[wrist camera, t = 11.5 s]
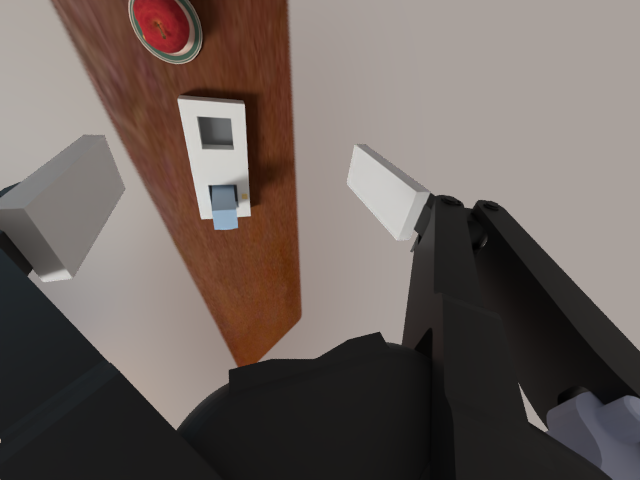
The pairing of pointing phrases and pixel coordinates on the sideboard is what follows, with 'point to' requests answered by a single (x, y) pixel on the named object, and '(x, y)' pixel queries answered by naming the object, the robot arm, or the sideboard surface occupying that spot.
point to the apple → (167, 28)
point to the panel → (216, 149)
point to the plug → (224, 207)
